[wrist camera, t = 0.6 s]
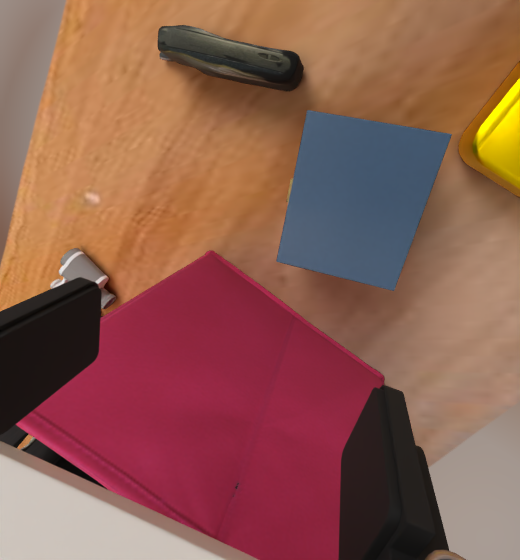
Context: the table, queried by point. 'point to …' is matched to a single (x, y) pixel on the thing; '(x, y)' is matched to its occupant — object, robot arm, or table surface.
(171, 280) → the storage bin
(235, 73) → the mobile phone
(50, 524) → the robot arm
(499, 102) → the element tile
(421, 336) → the table surface
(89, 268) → the binoculars
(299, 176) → the blue box
